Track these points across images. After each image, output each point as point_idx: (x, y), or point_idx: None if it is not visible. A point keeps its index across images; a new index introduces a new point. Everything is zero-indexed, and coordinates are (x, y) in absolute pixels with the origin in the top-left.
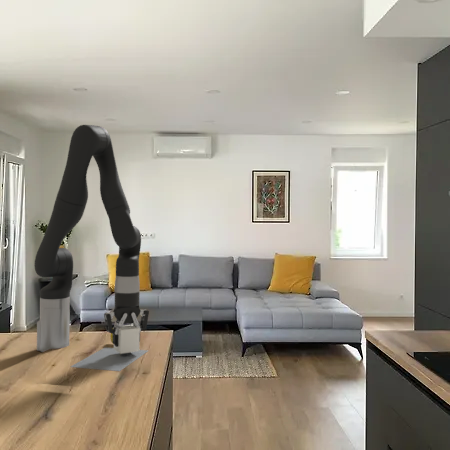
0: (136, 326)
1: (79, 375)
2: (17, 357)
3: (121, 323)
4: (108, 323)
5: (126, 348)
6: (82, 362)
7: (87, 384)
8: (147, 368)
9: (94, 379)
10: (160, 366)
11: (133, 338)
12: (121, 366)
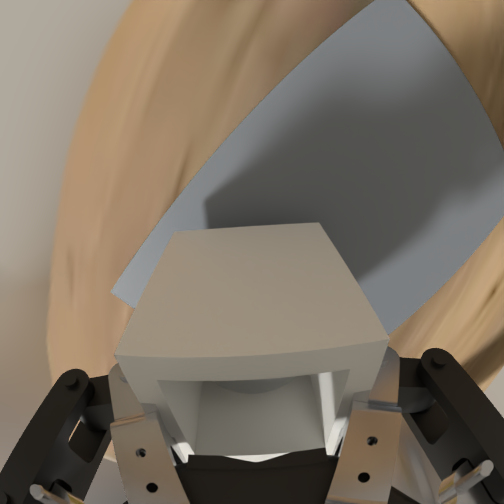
0: (147, 409)
1: (498, 127)
2: (487, 373)
3: (364, 445)
4: (493, 411)
5: (278, 237)
6: (478, 228)
7: (491, 18)
8: (193, 38)
9: (471, 42)
10: (114, 53)
11: (211, 281)
12: (365, 43)
